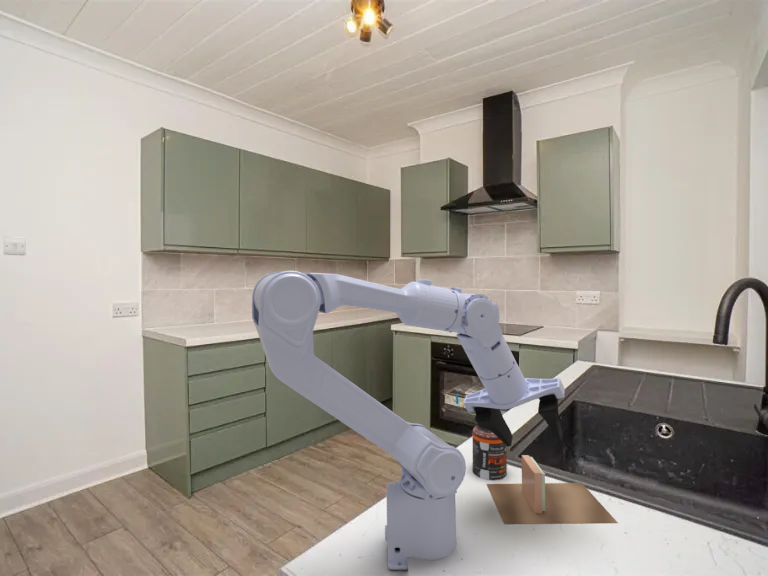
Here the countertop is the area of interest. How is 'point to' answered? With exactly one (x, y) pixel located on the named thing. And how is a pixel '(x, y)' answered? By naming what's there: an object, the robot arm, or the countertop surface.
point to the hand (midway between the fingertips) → (534, 439)
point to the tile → (533, 484)
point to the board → (549, 505)
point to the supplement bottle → (488, 454)
